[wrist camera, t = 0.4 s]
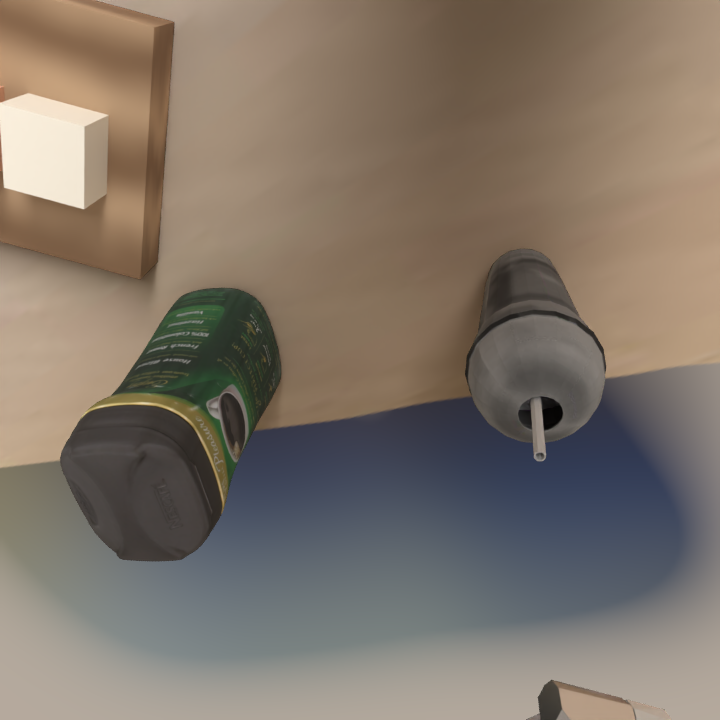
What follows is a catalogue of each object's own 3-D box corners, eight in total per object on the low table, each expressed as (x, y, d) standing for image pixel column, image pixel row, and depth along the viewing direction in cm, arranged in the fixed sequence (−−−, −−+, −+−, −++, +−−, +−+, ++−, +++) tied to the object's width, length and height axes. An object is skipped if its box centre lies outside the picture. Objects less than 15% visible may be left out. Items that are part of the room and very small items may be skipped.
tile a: (28, 93, 41) (-2, 103, 38) (108, 115, 41) (84, 126, 38) (31, 173, 44) (3, 187, 41) (106, 193, 44) (84, 209, 41)
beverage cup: (489, 341, 49) (498, 554, 32) (450, 253, 46) (436, 437, 29) (591, 306, 46) (660, 517, 29) (557, 211, 43) (611, 384, 26)
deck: (-86, -49, 40) (-124, -49, 38) (174, 22, 40) (154, 27, 38) (-57, 203, 49) (-86, 217, 46) (157, 262, 49) (140, 279, 46)
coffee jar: (162, 288, 50) (21, 446, 34) (263, 278, 49) (164, 438, 33) (199, 396, 55) (90, 578, 39) (293, 390, 53) (218, 577, 38)
